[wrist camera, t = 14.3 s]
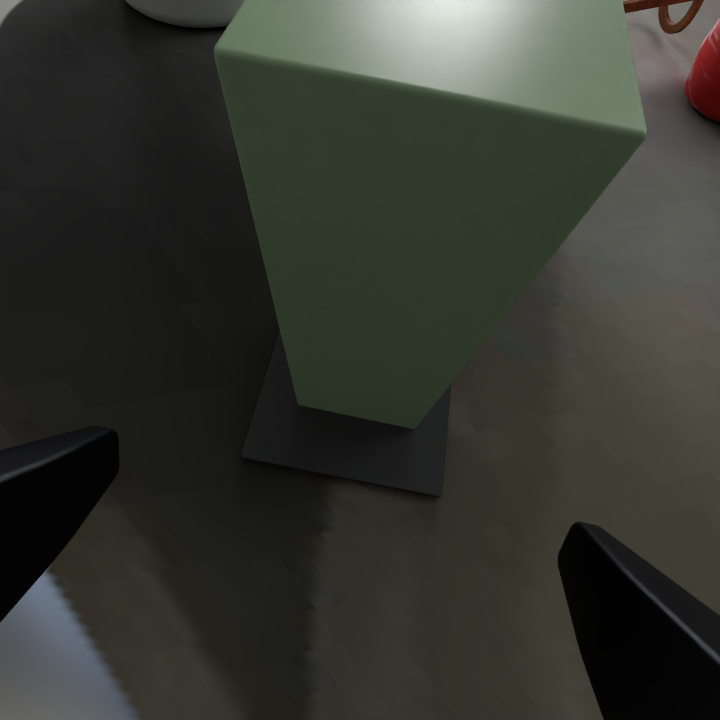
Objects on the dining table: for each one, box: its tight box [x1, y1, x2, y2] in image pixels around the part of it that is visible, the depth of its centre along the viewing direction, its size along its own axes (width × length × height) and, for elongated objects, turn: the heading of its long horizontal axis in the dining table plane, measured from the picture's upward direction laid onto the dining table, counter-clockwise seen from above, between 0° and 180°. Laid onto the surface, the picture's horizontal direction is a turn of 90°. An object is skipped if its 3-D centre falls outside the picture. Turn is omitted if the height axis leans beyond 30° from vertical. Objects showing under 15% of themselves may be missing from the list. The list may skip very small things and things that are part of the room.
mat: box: [241, 330, 451, 497], centre depth 21 cm, size 26×8×1 cm, turn 170°
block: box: [214, 0, 647, 429], centre depth 11 cm, size 5×5×13 cm
